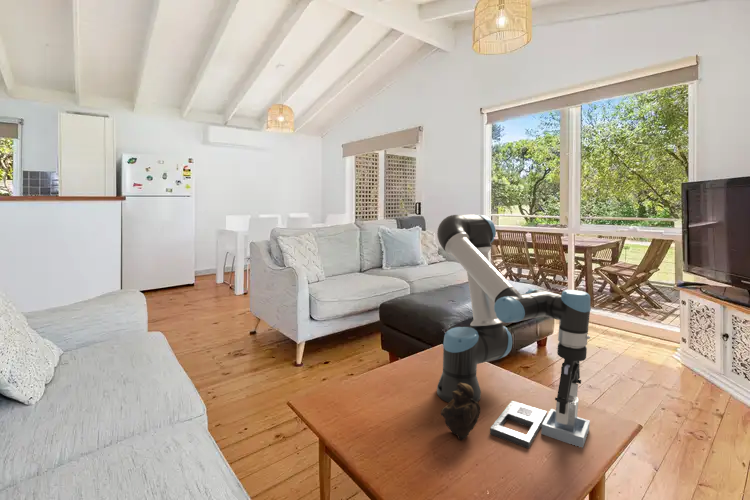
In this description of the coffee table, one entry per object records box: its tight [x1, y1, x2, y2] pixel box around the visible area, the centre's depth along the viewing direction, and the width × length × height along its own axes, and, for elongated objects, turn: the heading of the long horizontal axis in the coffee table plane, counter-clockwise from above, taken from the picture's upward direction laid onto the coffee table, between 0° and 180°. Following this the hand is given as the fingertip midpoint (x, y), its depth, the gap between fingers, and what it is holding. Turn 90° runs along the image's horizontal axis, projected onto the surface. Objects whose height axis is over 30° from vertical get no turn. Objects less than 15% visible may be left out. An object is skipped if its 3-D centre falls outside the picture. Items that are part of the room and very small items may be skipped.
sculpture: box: [440, 383, 482, 441], centre depth 113 cm, size 11×11×15 cm
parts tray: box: [540, 408, 591, 449], centre depth 116 cm, size 11×11×3 cm
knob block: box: [555, 395, 580, 433], centre depth 115 cm, size 5×5×11 cm
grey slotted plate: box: [489, 400, 548, 450], centre depth 119 cm, size 11×20×2 cm, turn 143°
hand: (566, 412), depth 115 cm, fingers open, 13 cm apart
